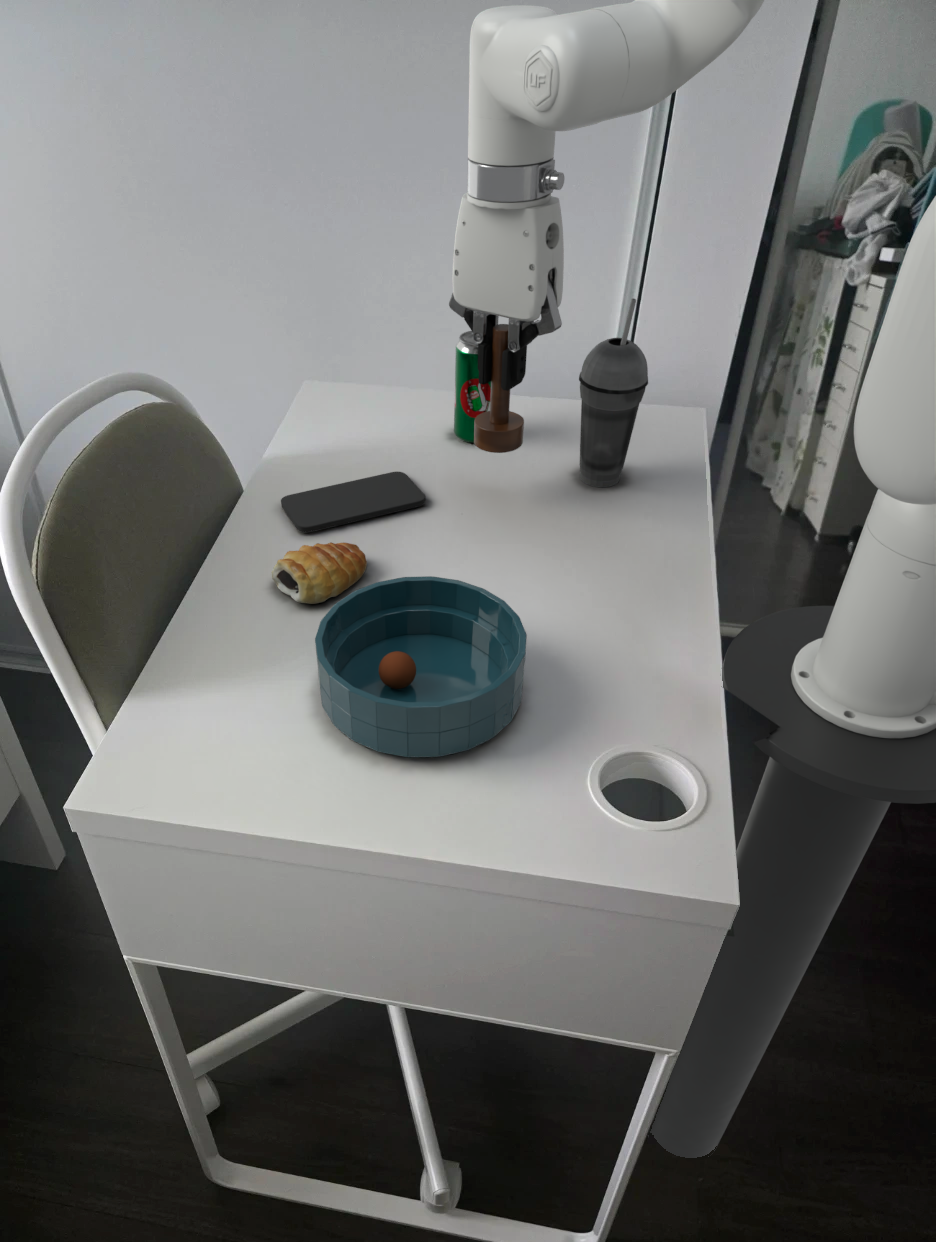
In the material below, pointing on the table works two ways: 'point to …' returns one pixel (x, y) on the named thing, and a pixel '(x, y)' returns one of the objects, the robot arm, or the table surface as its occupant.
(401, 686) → the meatball
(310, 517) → the phone
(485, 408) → the soda can
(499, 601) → the bowl
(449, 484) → the table surface
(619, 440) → the beverage cup
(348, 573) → the pastry
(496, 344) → the wooden knob stand
